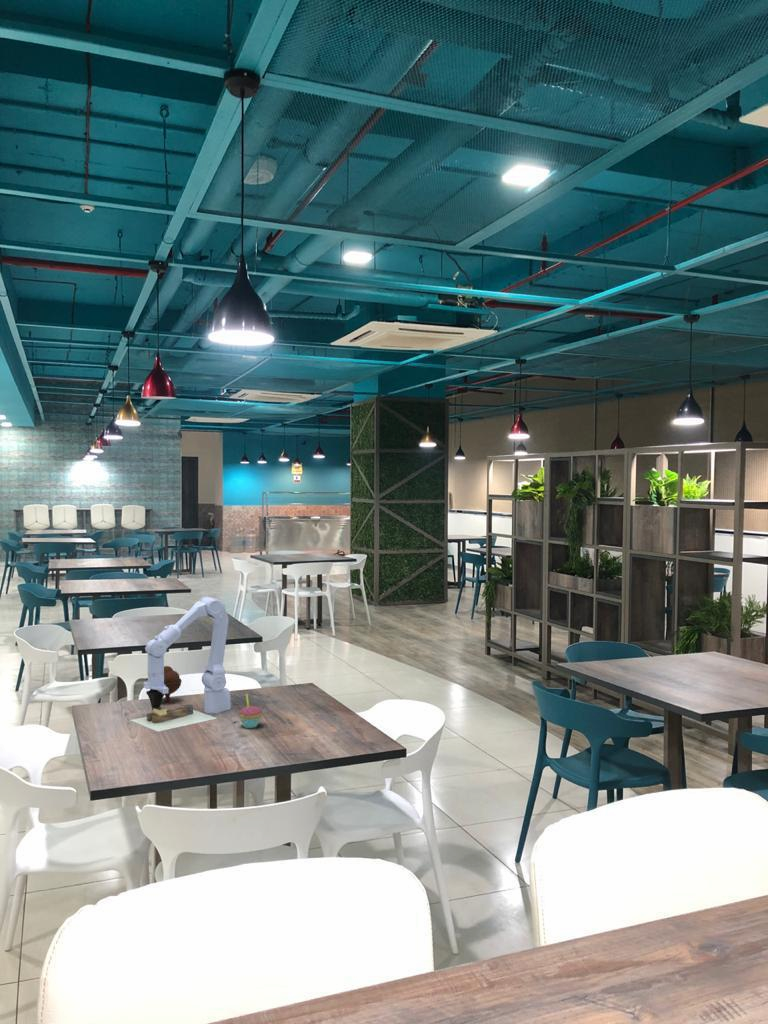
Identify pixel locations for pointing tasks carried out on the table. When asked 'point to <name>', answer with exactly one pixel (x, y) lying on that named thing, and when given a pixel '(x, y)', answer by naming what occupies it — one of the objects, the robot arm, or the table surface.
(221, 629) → the robot arm
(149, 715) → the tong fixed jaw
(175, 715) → the tong jaw
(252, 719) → the cupcake
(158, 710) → the pale yellow rectangular block
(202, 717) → the serving board
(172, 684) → the ice cream bowl
